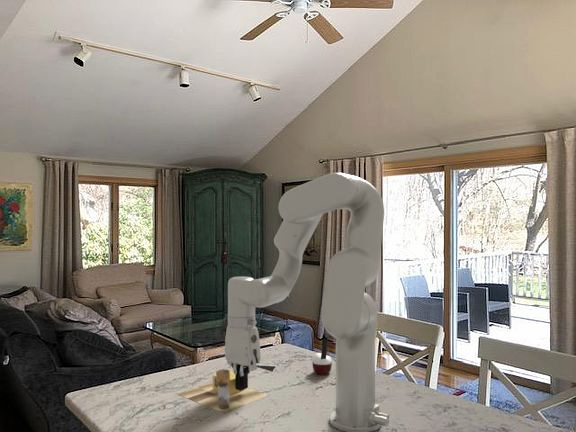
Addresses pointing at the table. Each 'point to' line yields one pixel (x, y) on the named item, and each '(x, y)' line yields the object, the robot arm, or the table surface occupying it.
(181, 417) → the table surface
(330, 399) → the table surface
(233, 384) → the yellow rectangular block
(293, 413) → the table surface
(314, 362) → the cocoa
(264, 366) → the smartphone
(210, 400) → the subfloor panel
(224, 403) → the two-tone metal cylinder
